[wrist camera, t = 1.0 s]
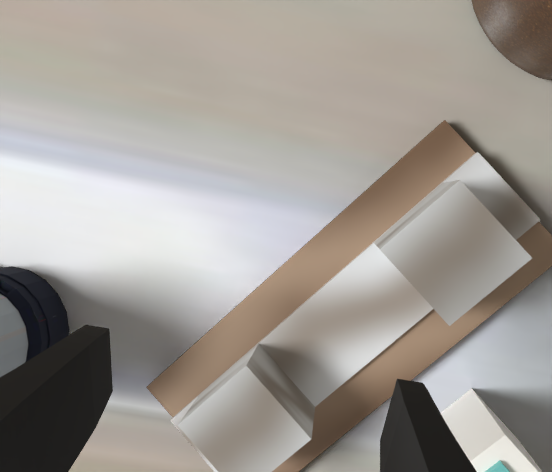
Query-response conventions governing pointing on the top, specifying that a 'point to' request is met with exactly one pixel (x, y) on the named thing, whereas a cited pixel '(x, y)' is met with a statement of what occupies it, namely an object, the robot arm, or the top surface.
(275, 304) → the board
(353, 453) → the top surface
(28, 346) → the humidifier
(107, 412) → the top surface
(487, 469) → the block
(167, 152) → the top surface
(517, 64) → the plant pot
